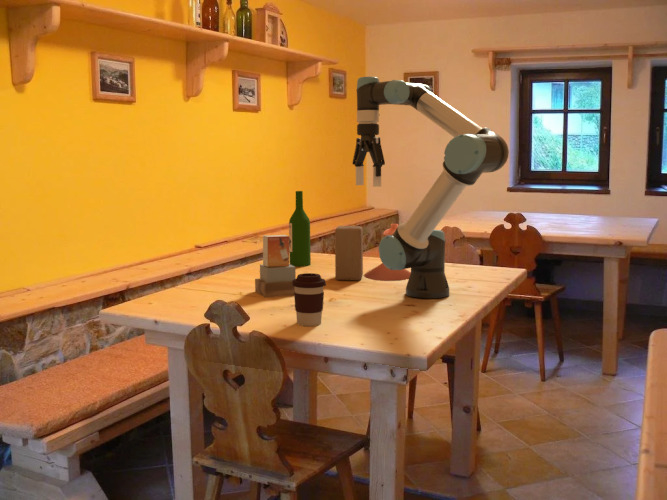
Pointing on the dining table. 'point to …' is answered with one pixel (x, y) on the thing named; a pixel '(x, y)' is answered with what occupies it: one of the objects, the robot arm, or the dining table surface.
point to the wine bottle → (299, 235)
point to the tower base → (274, 288)
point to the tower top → (277, 273)
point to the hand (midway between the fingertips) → (368, 185)
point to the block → (348, 253)
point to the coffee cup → (309, 298)
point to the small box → (275, 250)
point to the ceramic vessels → (385, 273)
